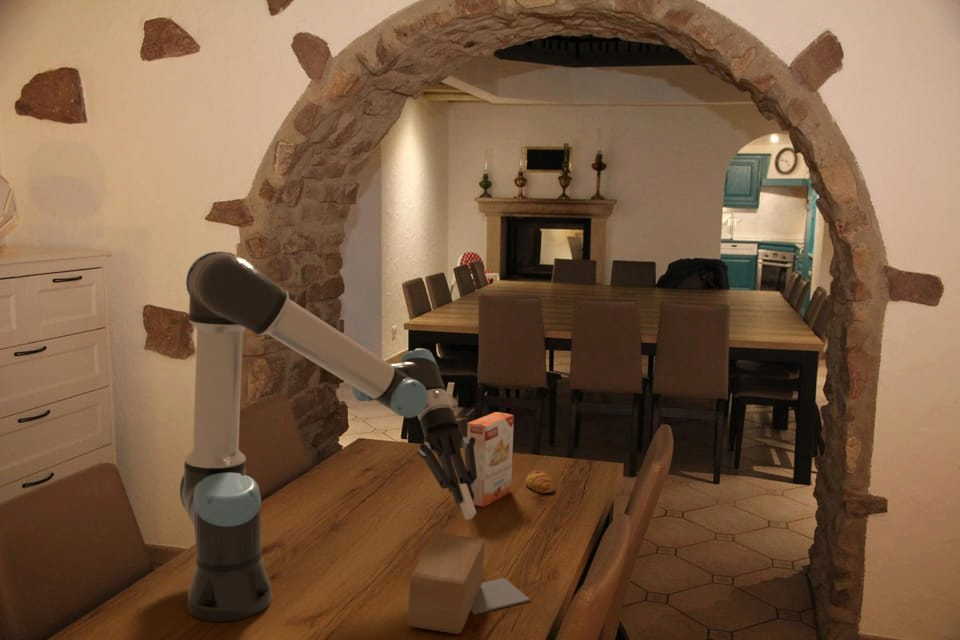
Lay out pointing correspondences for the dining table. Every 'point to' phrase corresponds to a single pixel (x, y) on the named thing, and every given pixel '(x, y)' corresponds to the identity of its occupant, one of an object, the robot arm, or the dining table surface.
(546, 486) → the pastry
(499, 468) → the cracker box
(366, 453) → the dining table surface
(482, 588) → the felt pad
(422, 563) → the wooden block
